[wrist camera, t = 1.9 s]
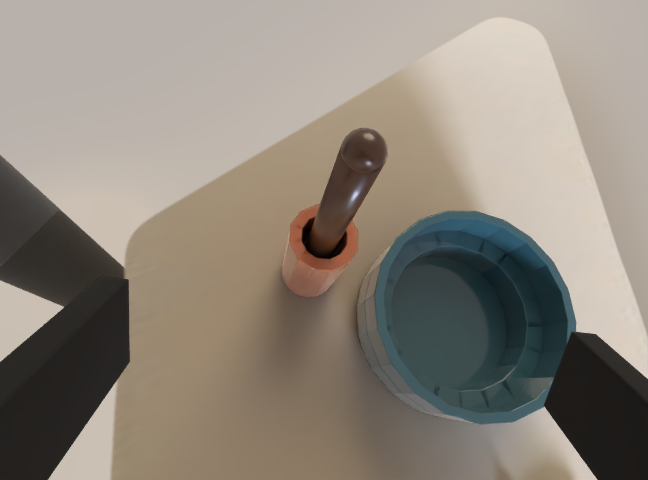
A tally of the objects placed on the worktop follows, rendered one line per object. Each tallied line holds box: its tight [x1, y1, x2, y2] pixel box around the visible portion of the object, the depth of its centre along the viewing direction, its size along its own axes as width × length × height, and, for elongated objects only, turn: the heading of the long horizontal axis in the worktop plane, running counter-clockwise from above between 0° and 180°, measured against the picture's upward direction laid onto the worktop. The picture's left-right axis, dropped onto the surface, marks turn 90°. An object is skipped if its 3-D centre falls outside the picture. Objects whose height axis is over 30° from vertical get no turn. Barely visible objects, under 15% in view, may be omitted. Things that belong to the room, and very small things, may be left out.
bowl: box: [356, 211, 576, 425], centre depth 34 cm, size 15×15×6 cm
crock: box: [282, 204, 358, 297], centre depth 32 cm, size 5×5×9 cm
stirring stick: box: [305, 128, 388, 259], centre depth 26 cm, size 2×2×20 cm
